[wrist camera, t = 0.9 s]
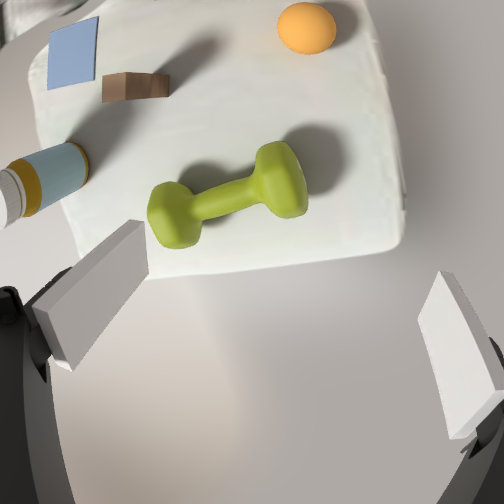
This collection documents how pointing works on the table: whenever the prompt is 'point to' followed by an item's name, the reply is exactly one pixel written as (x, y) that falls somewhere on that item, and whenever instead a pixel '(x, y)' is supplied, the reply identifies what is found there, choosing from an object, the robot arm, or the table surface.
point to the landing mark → (72, 54)
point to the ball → (306, 28)
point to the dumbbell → (229, 197)
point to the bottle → (40, 181)
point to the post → (134, 86)
